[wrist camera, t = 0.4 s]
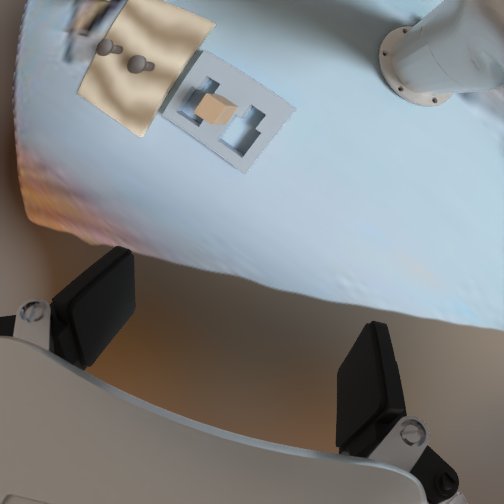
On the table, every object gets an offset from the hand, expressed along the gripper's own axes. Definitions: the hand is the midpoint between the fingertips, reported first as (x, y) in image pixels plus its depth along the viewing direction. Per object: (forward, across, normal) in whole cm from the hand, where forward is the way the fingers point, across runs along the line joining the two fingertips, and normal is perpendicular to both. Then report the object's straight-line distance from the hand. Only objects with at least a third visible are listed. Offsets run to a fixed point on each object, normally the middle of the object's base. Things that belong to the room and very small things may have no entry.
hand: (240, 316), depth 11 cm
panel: (+34, +12, -6) cm, 36 cm away
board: (+34, +29, -14) cm, 47 cm away
